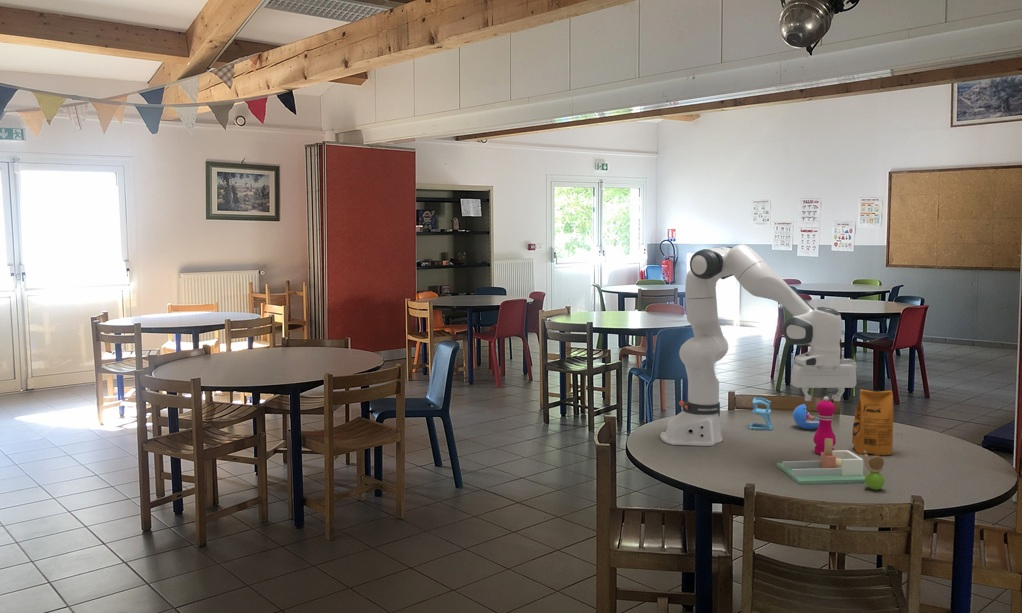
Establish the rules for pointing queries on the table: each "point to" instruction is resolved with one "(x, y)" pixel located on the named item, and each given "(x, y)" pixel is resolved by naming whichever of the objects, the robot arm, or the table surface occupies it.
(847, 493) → the table surface
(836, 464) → the ball
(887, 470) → the table surface
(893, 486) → the table surface
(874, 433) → the coffee package
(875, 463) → the snail figurine
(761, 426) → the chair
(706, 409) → the robot arm
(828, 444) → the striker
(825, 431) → the pepper mill
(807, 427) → the cell model
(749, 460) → the table surface
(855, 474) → the pitch
